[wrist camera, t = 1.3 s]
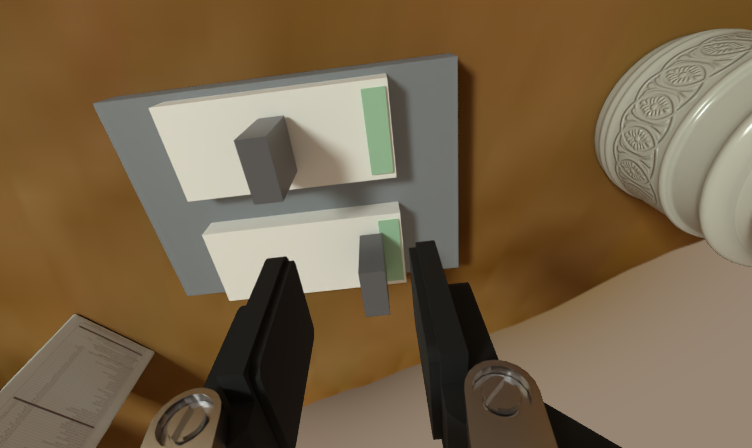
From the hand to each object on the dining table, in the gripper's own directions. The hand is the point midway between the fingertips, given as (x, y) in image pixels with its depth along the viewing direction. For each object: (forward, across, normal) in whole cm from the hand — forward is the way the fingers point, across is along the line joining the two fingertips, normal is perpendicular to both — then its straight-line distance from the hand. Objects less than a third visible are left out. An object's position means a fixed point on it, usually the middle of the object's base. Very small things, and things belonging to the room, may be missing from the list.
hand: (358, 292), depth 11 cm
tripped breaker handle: (+16, +6, 0) cm, 17 cm away
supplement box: (+21, +34, +23) cm, 46 cm away
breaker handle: (+16, 0, +10) cm, 19 cm away
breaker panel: (+21, +6, +5) cm, 23 cm away
